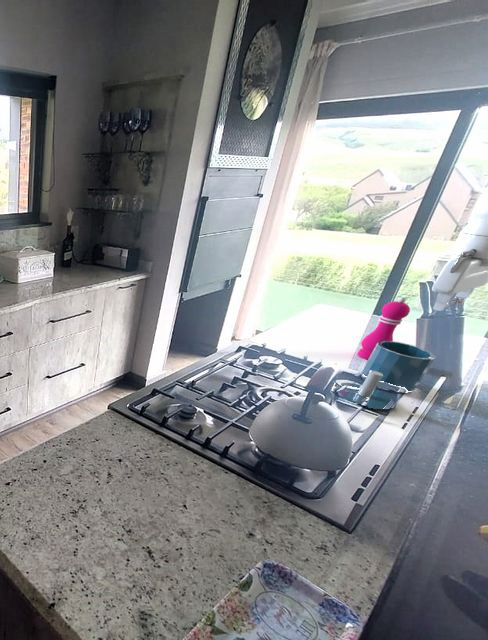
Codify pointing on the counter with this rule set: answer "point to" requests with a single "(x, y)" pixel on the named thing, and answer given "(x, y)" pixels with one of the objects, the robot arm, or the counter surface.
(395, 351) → the cup
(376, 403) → the lid
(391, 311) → the pepper mill
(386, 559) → the counter surface
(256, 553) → the counter surface
